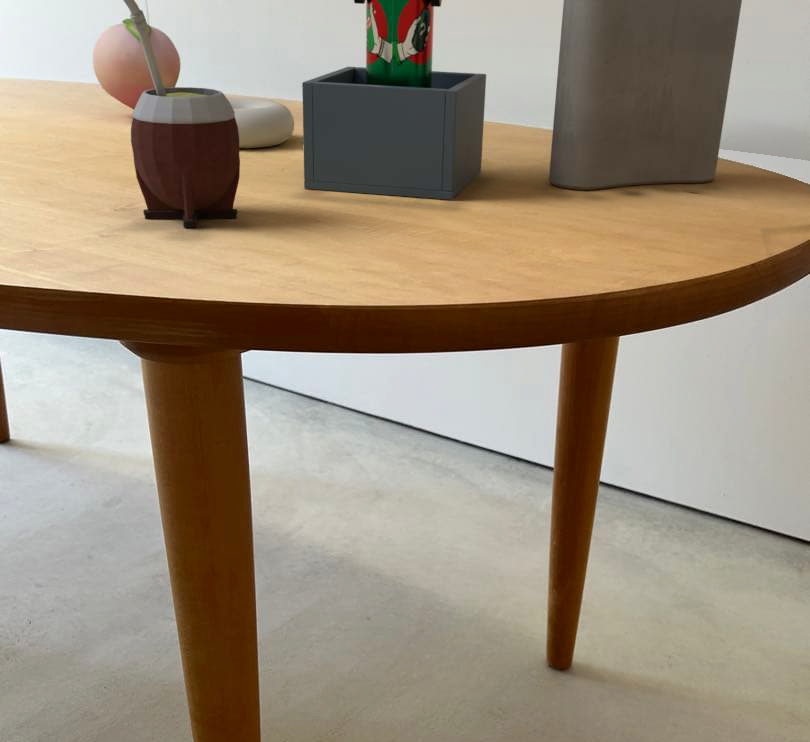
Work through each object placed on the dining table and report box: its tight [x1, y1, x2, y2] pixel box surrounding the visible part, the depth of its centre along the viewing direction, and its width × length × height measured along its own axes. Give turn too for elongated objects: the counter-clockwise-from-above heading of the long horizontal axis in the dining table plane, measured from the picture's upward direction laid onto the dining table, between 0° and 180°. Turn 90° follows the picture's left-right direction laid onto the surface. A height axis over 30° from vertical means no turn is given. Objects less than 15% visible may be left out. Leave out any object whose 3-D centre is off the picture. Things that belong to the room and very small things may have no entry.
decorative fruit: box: [92, 18, 181, 111], centre depth 112 cm, size 9×8×10 cm
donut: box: [227, 97, 295, 149], centre depth 102 cm, size 10×4×10 cm
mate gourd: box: [122, 0, 241, 229], centre depth 72 cm, size 8×8×15 cm
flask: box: [548, 0, 743, 191], centre depth 86 cm, size 15×6×20 cm, turn 113°
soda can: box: [365, 0, 435, 88], centre depth 83 cm, size 5×5×12 cm
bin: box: [301, 66, 487, 201], centre depth 87 cm, size 12×12×8 cm
